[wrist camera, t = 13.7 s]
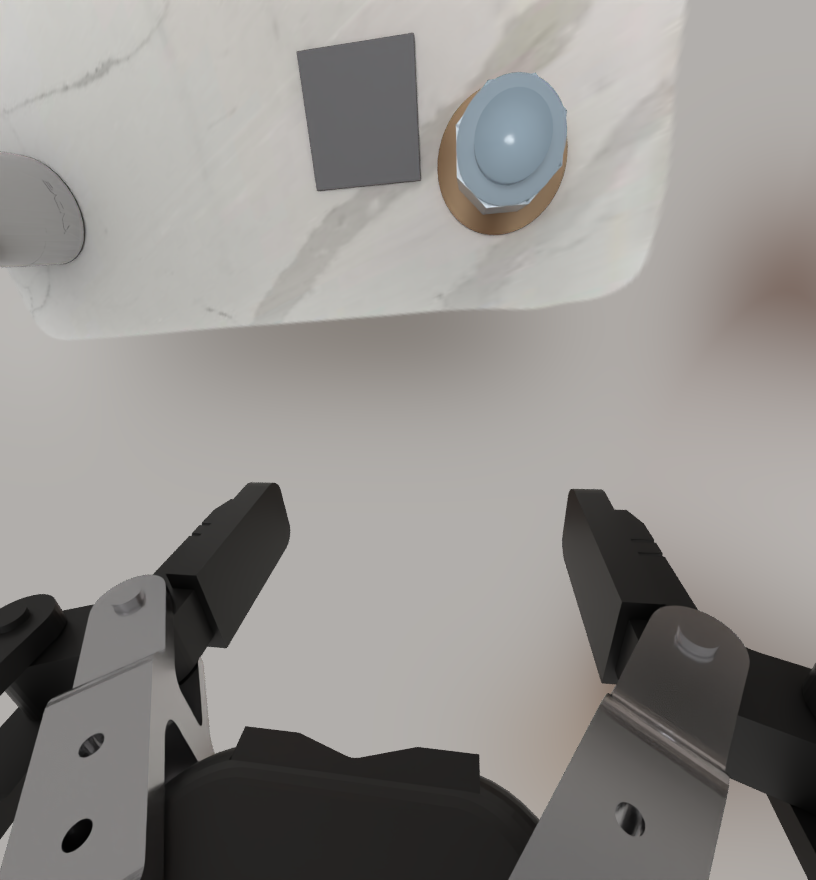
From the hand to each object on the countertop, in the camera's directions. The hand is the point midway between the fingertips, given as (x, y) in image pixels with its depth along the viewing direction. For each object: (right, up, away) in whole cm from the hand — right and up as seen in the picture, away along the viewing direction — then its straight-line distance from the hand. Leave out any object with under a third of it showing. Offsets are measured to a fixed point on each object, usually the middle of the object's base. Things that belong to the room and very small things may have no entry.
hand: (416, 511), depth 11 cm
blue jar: (+7, +24, +20) cm, 32 cm away
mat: (-4, +28, +21) cm, 35 cm away
